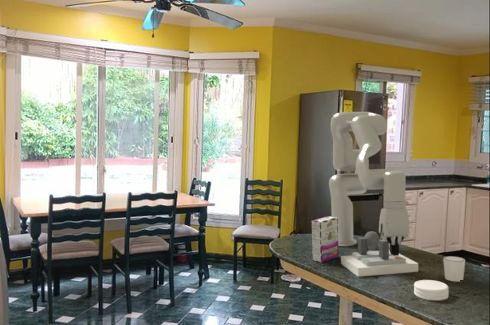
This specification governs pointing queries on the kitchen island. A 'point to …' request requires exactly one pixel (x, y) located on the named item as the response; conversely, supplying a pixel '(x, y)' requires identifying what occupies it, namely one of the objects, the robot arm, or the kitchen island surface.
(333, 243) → the candy bar box
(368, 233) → the light bulb
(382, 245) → the handle
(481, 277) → the kitchen island surface
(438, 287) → the white ribbed round piece
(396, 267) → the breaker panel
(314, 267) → the kitchen island surface
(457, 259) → the light grey cup
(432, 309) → the kitchen island surface
